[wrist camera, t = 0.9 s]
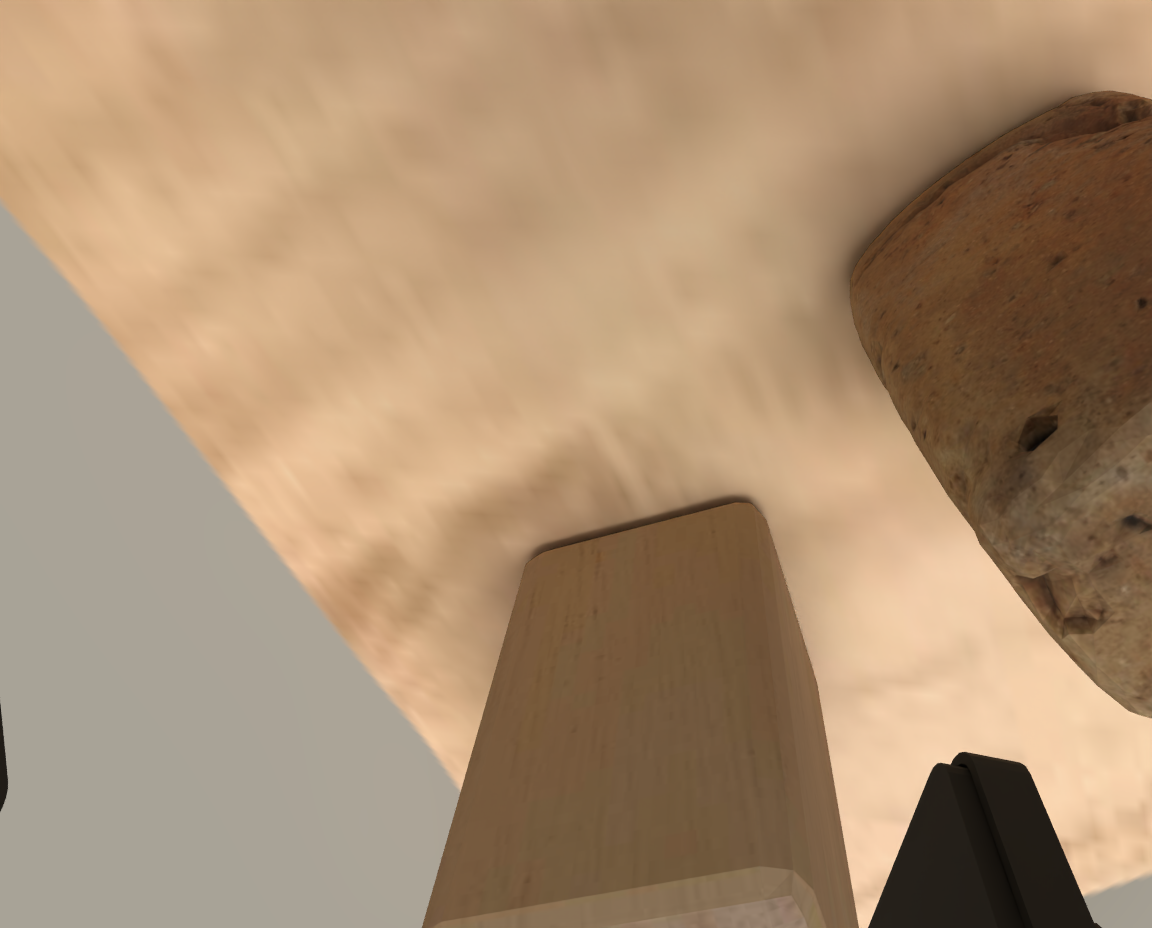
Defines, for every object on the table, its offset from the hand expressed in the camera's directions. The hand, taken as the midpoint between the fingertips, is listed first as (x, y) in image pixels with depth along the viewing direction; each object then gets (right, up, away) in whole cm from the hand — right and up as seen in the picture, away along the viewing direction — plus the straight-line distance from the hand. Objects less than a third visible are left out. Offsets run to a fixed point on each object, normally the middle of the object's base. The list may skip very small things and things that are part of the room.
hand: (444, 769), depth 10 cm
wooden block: (+5, -3, +34) cm, 34 cm away
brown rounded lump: (+16, +11, +26) cm, 32 cm away
